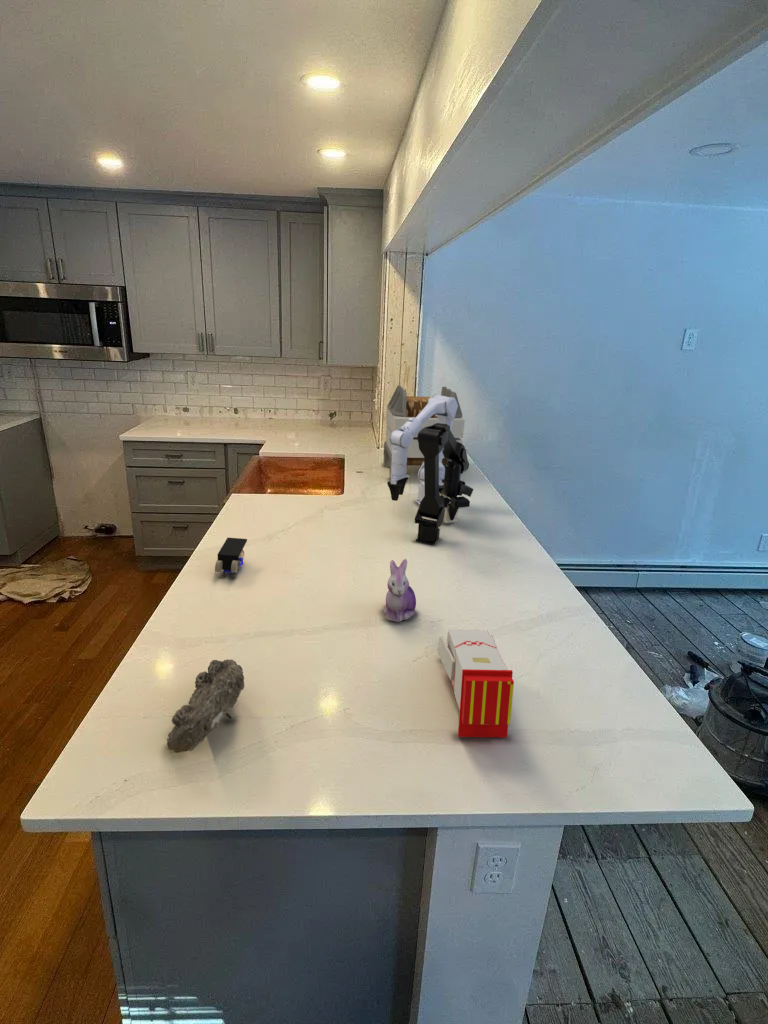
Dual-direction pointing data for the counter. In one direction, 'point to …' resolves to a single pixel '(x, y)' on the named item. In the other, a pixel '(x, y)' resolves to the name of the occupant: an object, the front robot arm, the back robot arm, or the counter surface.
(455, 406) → the back robot arm
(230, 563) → the figurine character
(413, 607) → the figurine
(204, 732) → the fossil
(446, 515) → the light grey cube-like block
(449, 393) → the grey wooden planter box
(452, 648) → the toy
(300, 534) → the counter surface
